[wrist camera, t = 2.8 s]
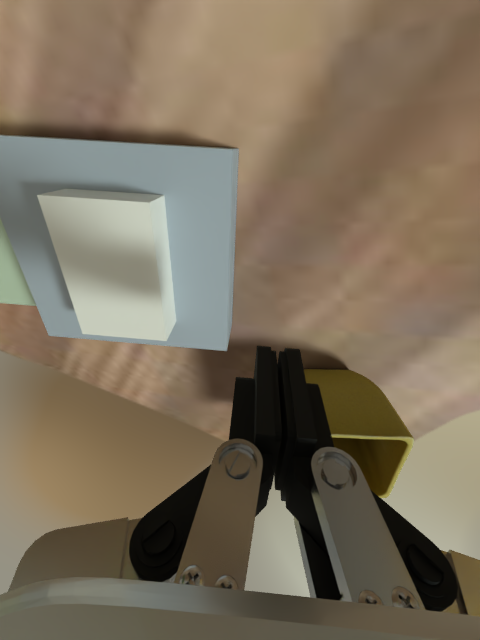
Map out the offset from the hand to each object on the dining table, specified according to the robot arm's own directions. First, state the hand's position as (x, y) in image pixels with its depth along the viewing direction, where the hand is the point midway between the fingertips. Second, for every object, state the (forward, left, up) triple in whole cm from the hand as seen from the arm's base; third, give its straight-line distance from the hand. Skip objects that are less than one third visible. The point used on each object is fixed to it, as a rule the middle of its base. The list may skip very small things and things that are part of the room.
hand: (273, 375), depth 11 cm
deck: (-1, -10, -13) cm, 17 cm away
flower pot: (+13, +7, -13) cm, 20 cm away
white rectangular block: (-1, -10, -9) cm, 13 cm away
